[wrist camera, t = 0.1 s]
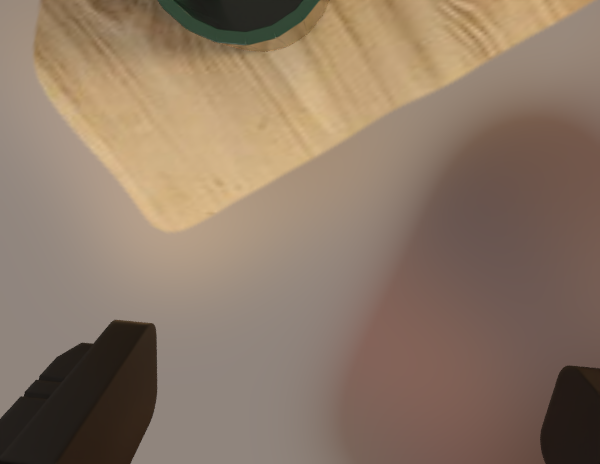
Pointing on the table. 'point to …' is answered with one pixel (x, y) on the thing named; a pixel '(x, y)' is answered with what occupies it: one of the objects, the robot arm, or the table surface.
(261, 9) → the pot
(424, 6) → the table surface
